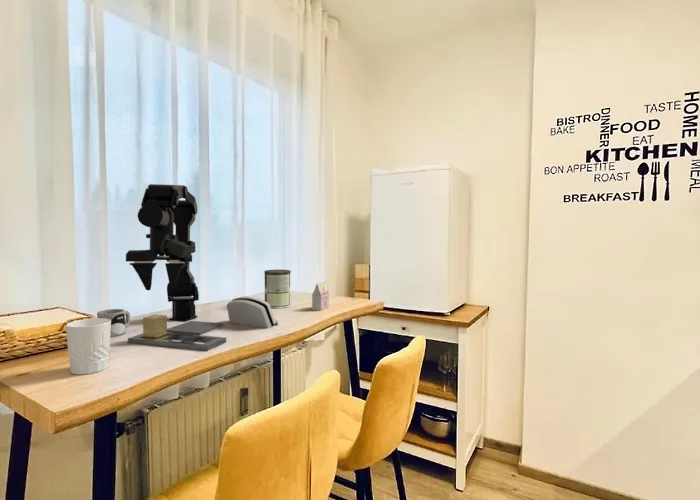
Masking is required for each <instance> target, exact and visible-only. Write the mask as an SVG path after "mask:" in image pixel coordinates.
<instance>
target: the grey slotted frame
mask: <svg viewBox="0 0 700 500" xmlns="http://www.w3.org/2000/svg"><path fill="white" fill-rule="evenodd" d="M176 340H180V341H176ZM197 342H205V343H197ZM129 343H130V344H137V345H148V346H154V347H155V346H156V347H157V346H158V347H168V348H175V349H184V348H185V349H187V350H194V351H195V350H196V351H204V350H205V351H204V352H208V350H209V351H211V350H212V348H213V349H215V348H217V347H219V346H222V345H223V344H226V343H227V337H226V336H225V337H224V336H213V335H211V336H210V335H204V334H201V335H194V334H182V333H171V332H167V336H164V337H162V338H159V339H147V338H143V333H140V334H137V335H134V336H131V337H128V338H127V344H129ZM210 349H211V350H210Z"/></svg>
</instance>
